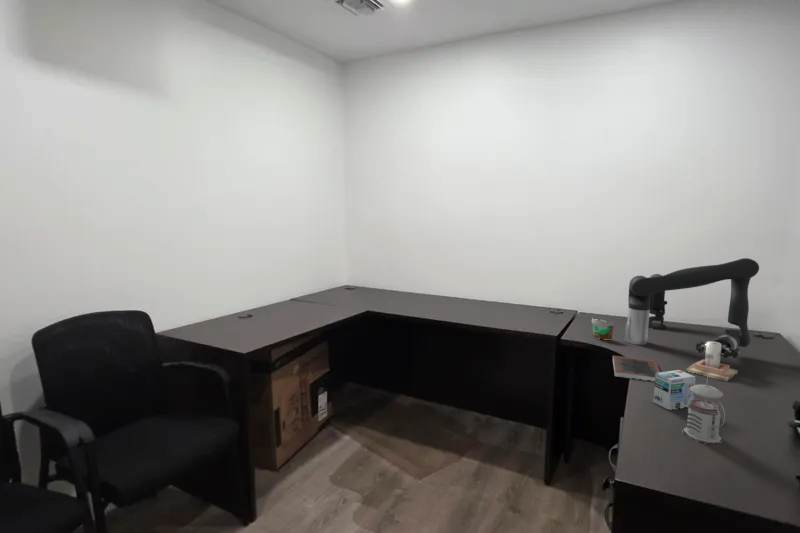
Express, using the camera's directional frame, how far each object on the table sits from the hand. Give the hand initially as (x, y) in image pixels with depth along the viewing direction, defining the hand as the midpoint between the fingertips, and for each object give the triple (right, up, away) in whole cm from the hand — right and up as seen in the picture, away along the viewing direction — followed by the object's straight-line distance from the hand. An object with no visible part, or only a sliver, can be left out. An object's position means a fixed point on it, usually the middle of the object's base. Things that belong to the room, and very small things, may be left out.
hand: (712, 353), depth 178 cm
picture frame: (-28, -9, +5) cm, 30 cm away
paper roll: (+2, -7, +2) cm, 8 cm away
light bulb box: (-32, -12, -27) cm, 44 cm away
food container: (-23, -2, +49) cm, 54 cm away
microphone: (+18, +1, +71) cm, 73 cm away
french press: (-37, -15, -48) cm, 63 cm away
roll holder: (+1, -8, +2) cm, 9 cm away
